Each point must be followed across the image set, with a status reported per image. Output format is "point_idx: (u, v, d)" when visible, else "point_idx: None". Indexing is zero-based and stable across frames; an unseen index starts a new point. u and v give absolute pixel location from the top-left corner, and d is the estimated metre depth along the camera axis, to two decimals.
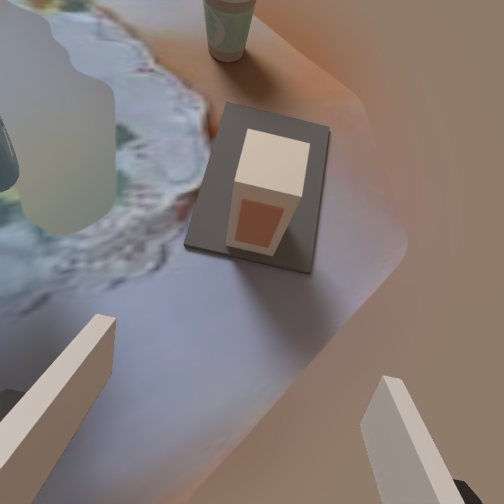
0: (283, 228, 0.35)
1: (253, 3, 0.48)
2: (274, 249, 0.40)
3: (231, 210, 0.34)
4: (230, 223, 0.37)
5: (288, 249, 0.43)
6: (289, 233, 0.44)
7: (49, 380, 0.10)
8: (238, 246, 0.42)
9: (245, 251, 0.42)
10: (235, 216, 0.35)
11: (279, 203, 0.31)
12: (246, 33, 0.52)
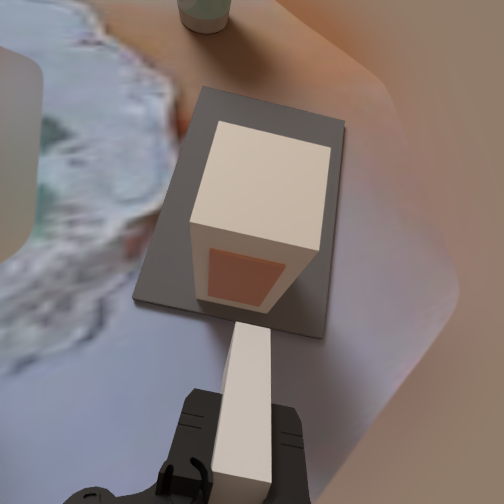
0: (283, 287, 0.21)
1: None
2: (269, 307, 0.26)
3: (194, 261, 0.20)
4: (197, 276, 0.22)
5: (290, 302, 0.29)
6: None
7: (235, 381, 0.11)
8: (214, 300, 0.28)
9: (225, 307, 0.28)
10: (203, 269, 0.21)
11: (276, 257, 0.17)
12: None
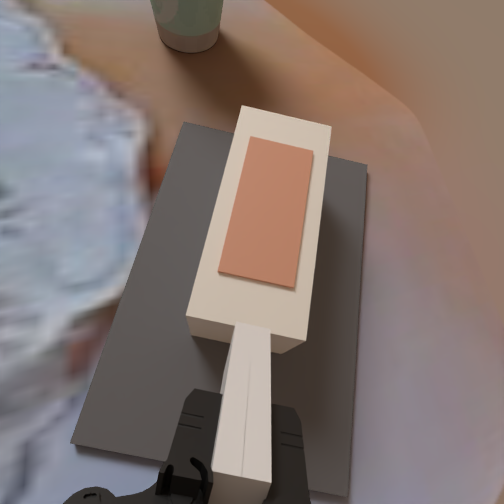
0: (317, 207, 0.20)
1: None
2: (307, 299, 0.17)
3: (226, 168, 0.20)
4: (217, 209, 0.19)
5: None
6: (300, 398, 0.21)
7: (235, 381, 0.11)
8: (220, 310, 0.17)
9: None
10: (231, 185, 0.20)
11: (303, 142, 0.21)
12: (219, 0, 0.29)
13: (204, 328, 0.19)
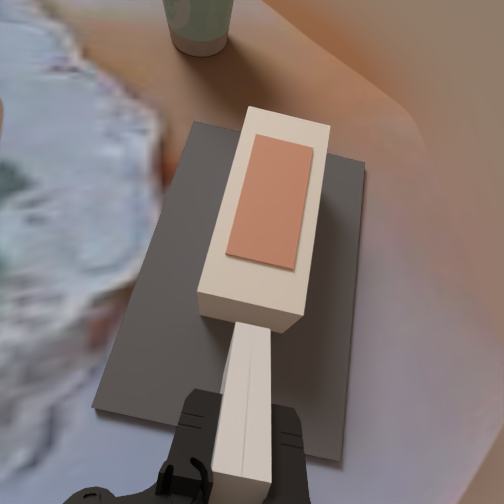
0: (315, 198, 0.22)
1: None
2: (305, 279, 0.20)
3: (234, 163, 0.22)
4: (225, 199, 0.21)
5: (298, 409, 0.22)
6: (299, 373, 0.23)
7: (235, 381, 0.11)
8: (227, 287, 0.19)
9: None
10: (238, 178, 0.22)
11: (304, 140, 0.24)
12: (228, 8, 0.31)
13: (212, 306, 0.21)
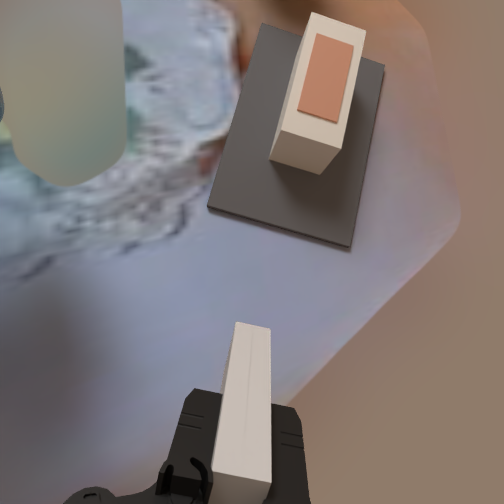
0: (352, 80, 0.34)
1: None
2: (343, 129, 0.33)
3: (302, 52, 0.34)
4: (297, 76, 0.33)
5: (327, 217, 0.37)
6: (329, 198, 0.38)
7: (235, 381, 0.11)
8: (298, 129, 0.32)
9: (277, 217, 0.36)
10: (304, 63, 0.33)
11: (348, 40, 0.35)
12: None
13: (283, 146, 0.34)
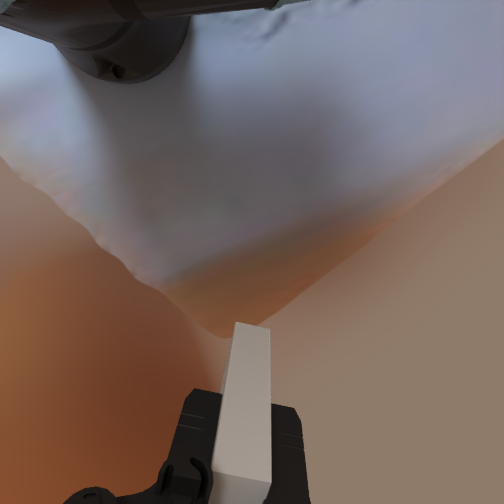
0: None
1: None
2: None
3: None
4: None
5: None
6: None
7: (235, 380, 0.11)
8: None
9: None
10: None
11: None
12: None
13: None
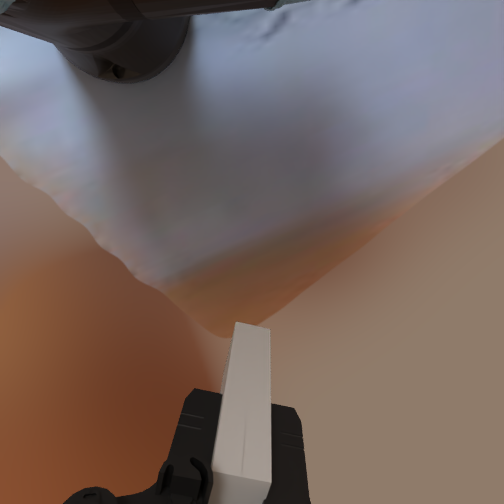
0: None
1: None
2: None
3: None
4: None
5: None
6: None
7: (235, 380, 0.11)
8: None
9: None
10: None
11: None
12: None
13: None
